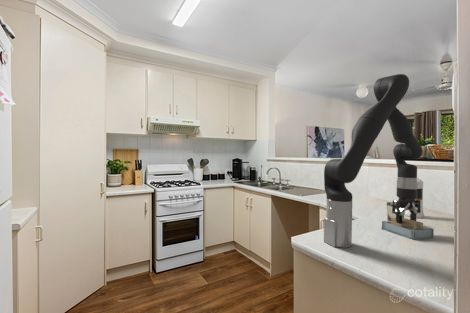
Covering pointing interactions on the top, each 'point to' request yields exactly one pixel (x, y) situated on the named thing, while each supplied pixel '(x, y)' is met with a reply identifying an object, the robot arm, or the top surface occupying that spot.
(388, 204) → the food container
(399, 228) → the crate
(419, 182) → the vodka
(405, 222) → the small crate
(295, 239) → the top surface
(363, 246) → the top surface
